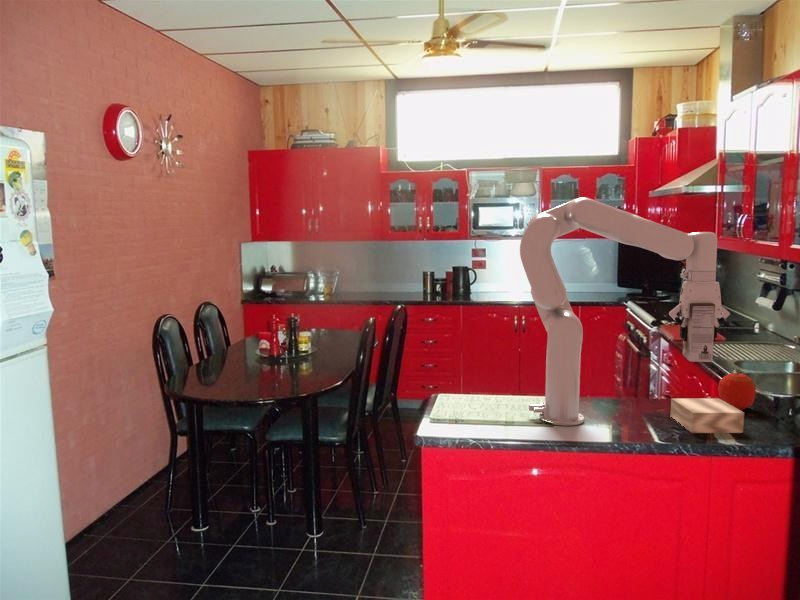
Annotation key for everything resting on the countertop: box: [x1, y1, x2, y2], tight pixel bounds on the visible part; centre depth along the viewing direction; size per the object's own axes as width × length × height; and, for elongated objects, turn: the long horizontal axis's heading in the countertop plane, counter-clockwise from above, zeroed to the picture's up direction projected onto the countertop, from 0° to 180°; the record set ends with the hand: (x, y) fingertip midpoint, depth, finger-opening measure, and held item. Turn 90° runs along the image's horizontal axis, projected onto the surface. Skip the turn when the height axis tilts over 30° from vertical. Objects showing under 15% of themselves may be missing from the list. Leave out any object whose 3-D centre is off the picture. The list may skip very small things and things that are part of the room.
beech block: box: [669, 397, 745, 434], centre depth 184 cm, size 14×14×6 cm
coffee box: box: [682, 303, 715, 363], centre depth 181 cm, size 9×6×16 cm
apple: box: [717, 372, 757, 411], centre depth 200 cm, size 10×10×12 cm
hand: (698, 340), depth 181 cm, fingers closed on coffee box, 6 cm apart
